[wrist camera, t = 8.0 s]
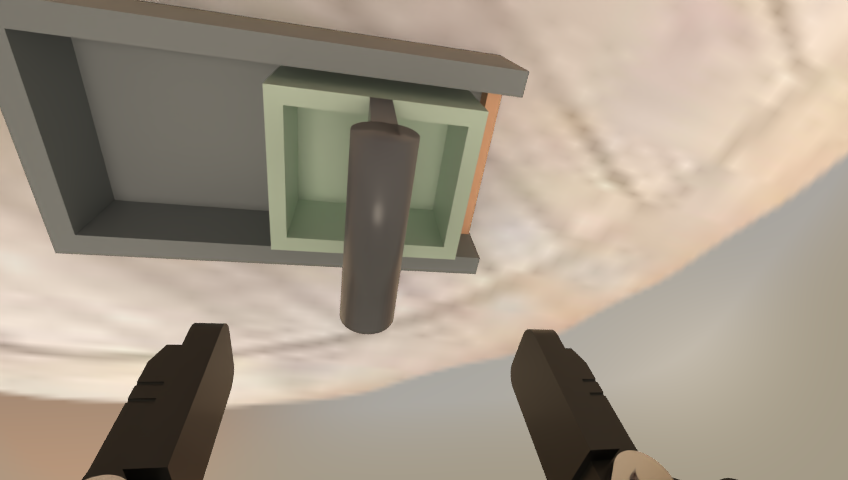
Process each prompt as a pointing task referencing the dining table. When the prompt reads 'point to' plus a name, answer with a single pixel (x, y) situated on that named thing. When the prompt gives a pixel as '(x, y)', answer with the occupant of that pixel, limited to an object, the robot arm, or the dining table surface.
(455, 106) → the box
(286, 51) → the bay
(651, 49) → the dining table surface
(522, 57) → the dining table surface
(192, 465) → the robot arm
